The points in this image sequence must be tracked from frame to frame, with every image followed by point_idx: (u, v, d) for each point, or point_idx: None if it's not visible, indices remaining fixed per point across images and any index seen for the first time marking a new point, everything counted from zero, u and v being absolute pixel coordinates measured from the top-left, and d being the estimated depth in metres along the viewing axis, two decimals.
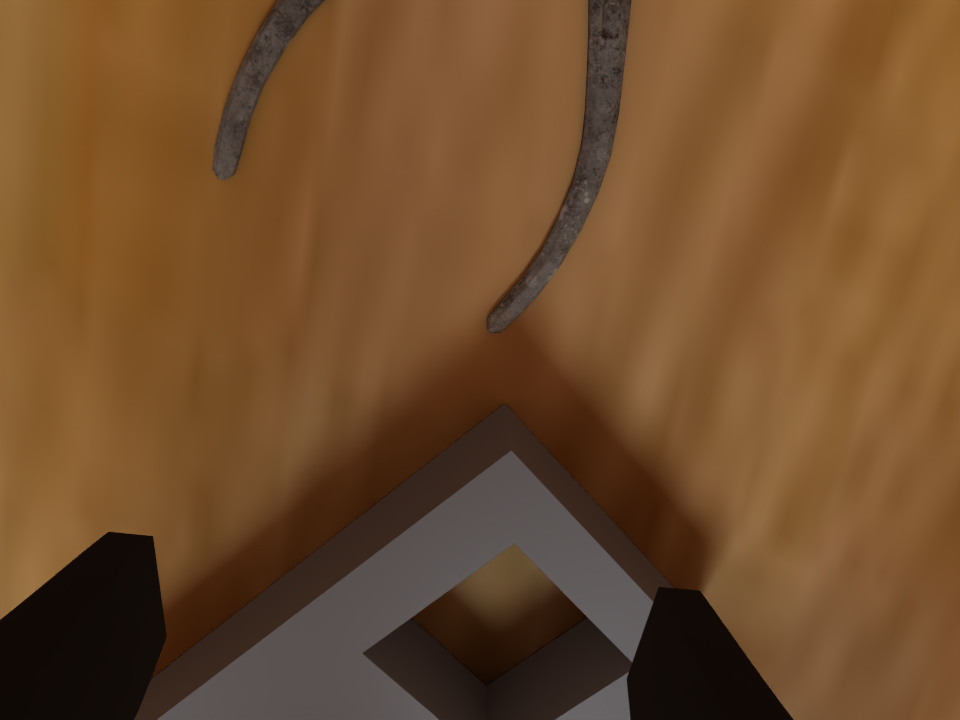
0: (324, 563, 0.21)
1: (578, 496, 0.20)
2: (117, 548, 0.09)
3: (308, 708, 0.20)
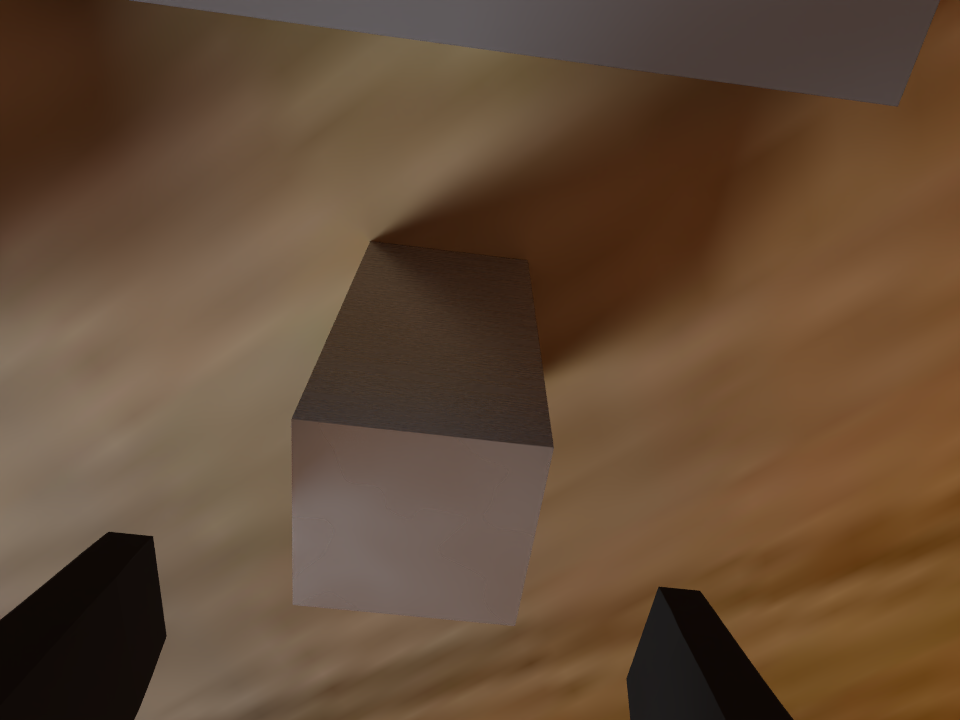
0: None
1: None
2: (117, 548, 0.09)
3: None
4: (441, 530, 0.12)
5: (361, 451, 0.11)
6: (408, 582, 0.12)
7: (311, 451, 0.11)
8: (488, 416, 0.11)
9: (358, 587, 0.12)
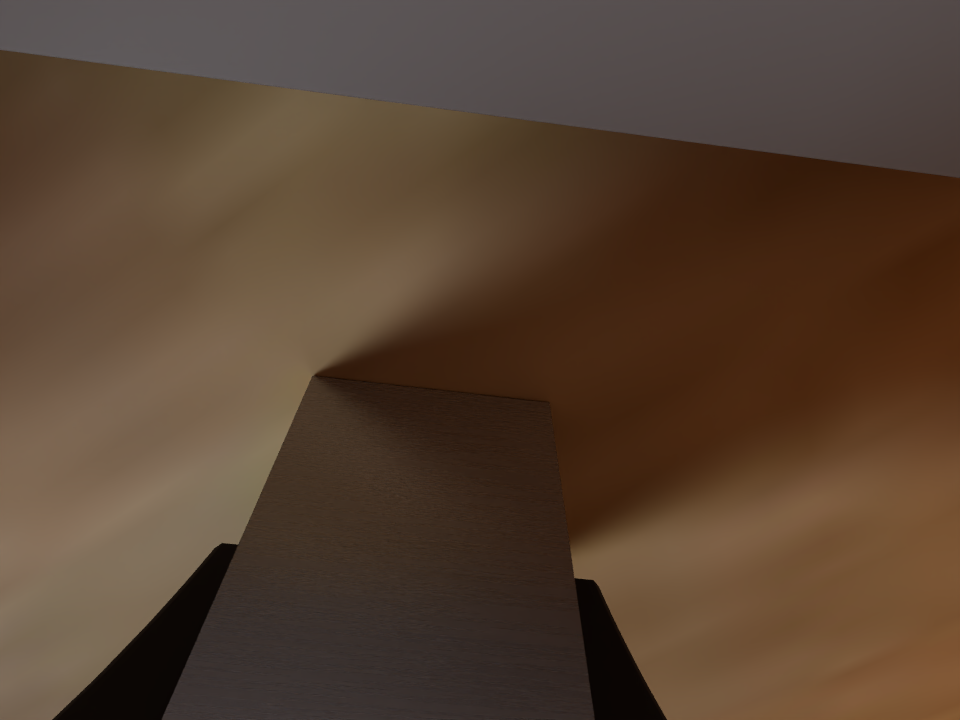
0: None
1: None
2: None
3: None
4: None
5: None
6: None
7: None
8: None
9: None
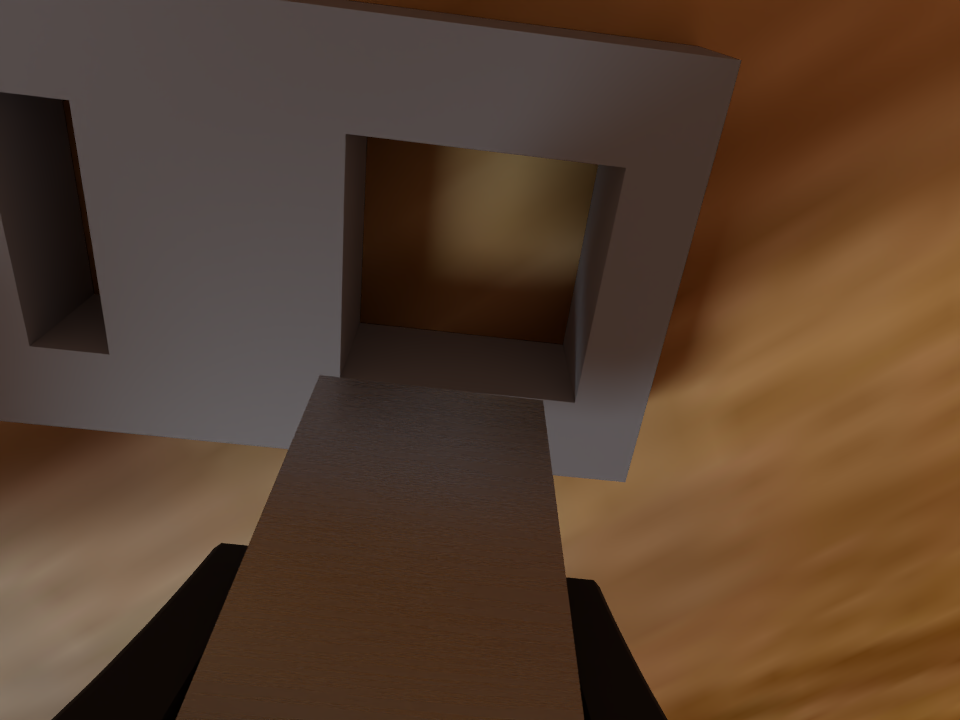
0: (374, 7, 0.14)
1: None
2: (235, 559, 0.09)
3: (213, 140, 0.14)
4: None
5: None
6: None
7: None
8: None
9: None
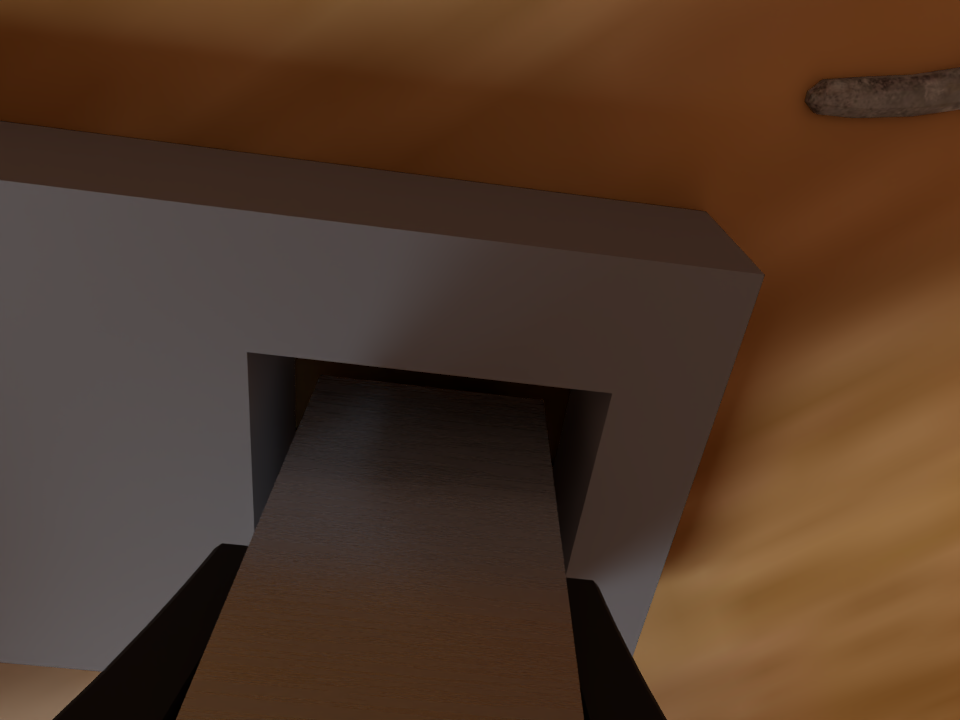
0: (289, 180, 0.11)
1: None
2: (236, 560, 0.09)
3: (75, 358, 0.11)
4: None
5: None
6: None
7: None
8: None
9: None
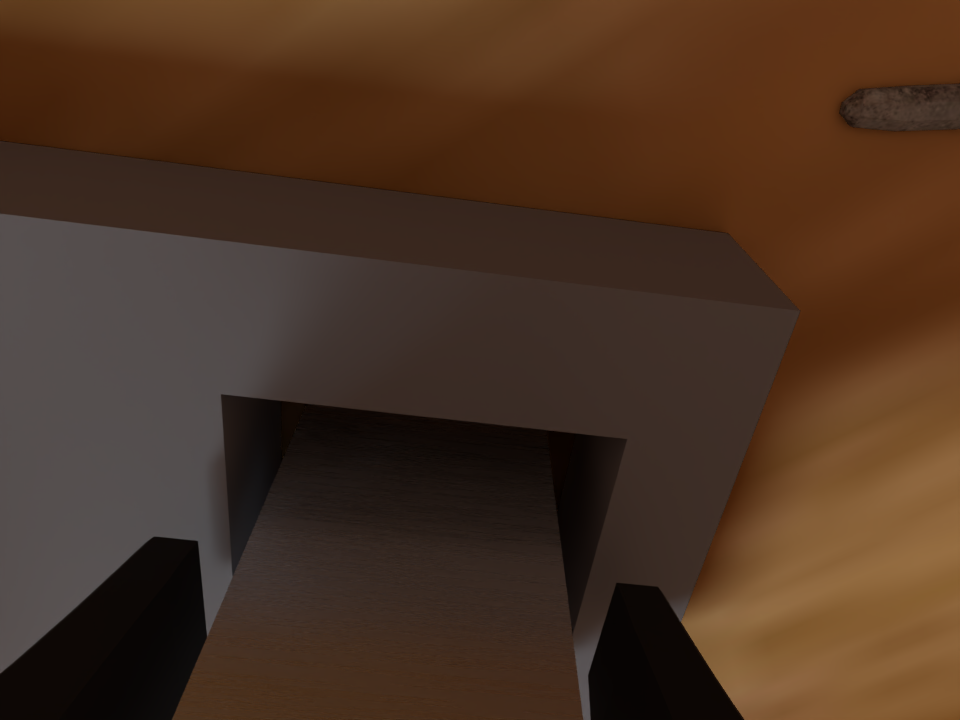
0: (269, 201, 0.10)
1: None
2: (164, 552, 0.09)
3: (30, 400, 0.09)
4: None
5: None
6: None
7: None
8: None
9: None
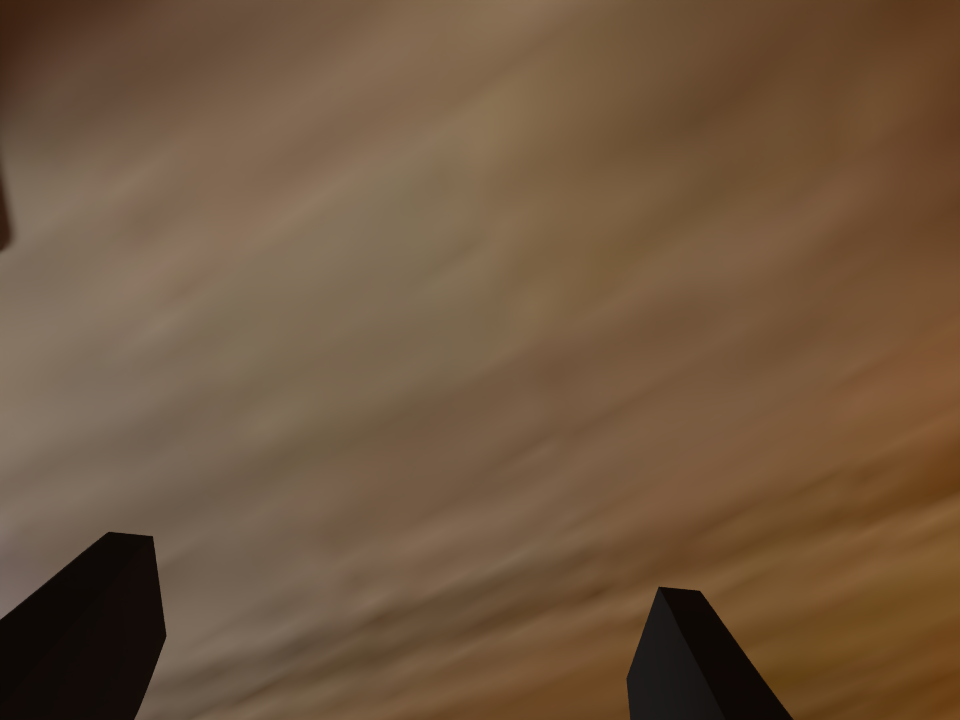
0: None
1: None
2: (117, 548, 0.09)
3: None
4: None
5: None
6: None
7: None
8: None
9: None
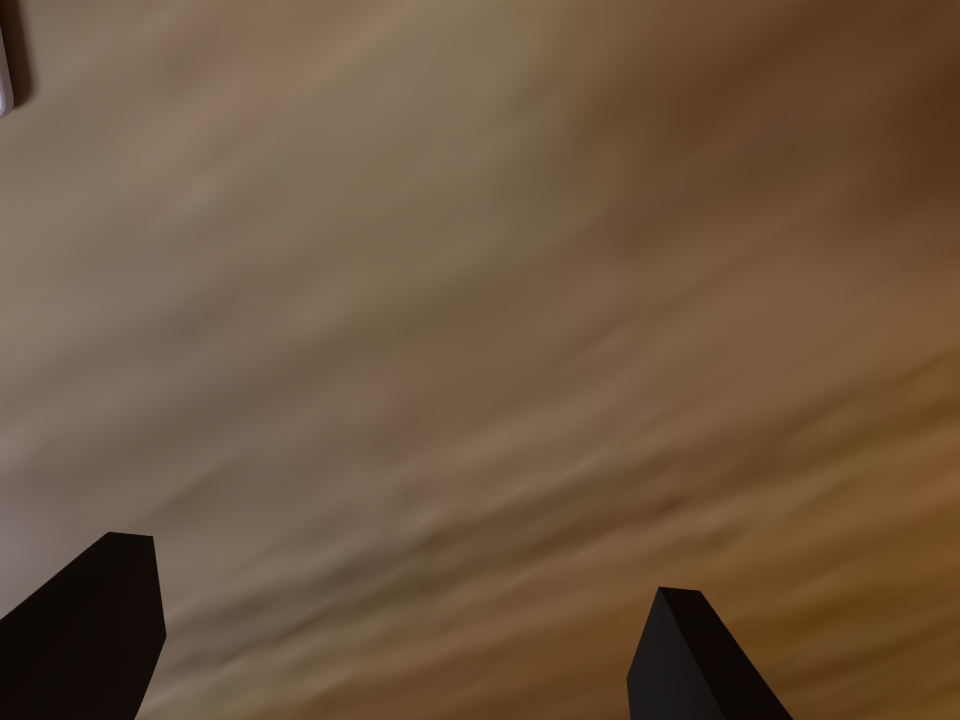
0: None
1: None
2: (117, 548, 0.09)
3: None
4: None
5: None
6: None
7: None
8: None
9: None
